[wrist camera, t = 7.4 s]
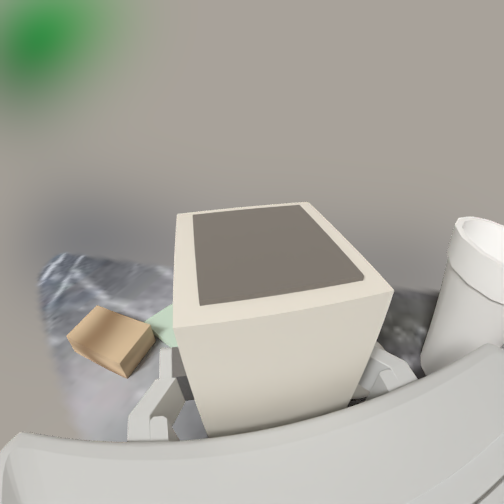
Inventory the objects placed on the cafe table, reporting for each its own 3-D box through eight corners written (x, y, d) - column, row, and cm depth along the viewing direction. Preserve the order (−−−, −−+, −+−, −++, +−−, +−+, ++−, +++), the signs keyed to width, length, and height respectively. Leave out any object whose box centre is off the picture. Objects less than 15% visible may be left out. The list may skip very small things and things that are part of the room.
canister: (318, 457, 13) (395, 285, 6) (225, 477, 12) (171, 322, 6) (289, 379, 18) (308, 198, 11) (210, 392, 17) (176, 210, 11)
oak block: (156, 343, 26) (150, 324, 24) (128, 381, 21) (119, 363, 20) (104, 323, 27) (97, 305, 26) (76, 353, 23) (66, 336, 22)
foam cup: (406, 324, 27) (444, 207, 20) (475, 336, 24) (523, 230, 17) (404, 398, 19) (475, 264, 13) (488, 405, 16) (568, 289, 9)
